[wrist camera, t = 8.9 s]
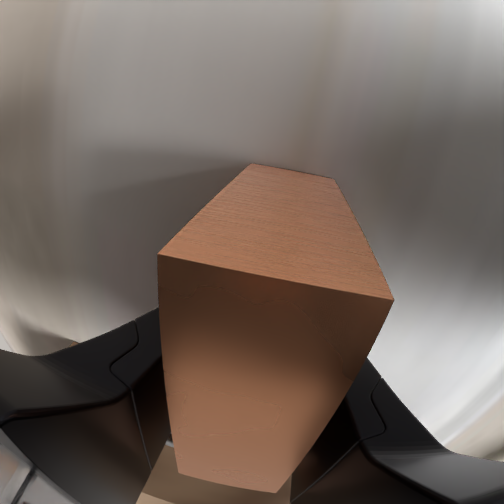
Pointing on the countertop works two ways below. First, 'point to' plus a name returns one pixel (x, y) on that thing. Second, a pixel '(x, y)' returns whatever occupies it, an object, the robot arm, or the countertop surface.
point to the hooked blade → (264, 324)
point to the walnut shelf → (199, 487)
